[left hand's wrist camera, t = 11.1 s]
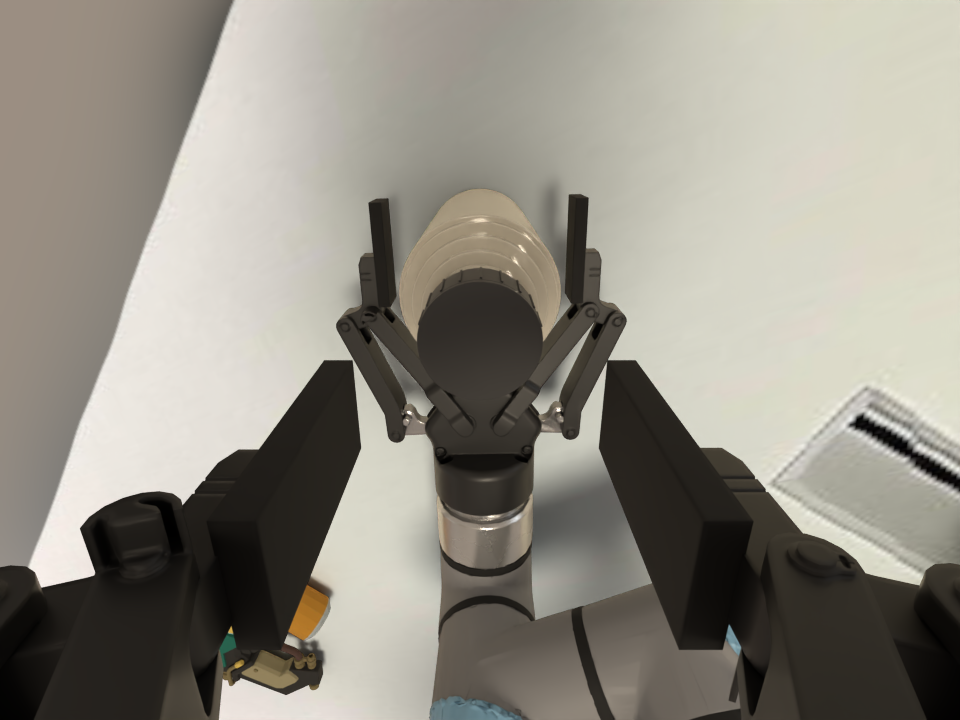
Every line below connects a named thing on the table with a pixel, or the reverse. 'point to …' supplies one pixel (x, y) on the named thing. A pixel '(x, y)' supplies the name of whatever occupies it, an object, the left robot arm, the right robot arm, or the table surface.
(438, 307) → the cap
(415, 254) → the bottle
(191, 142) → the table surface
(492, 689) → the right robot arm
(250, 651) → the spray gun
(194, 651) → the left robot arm
